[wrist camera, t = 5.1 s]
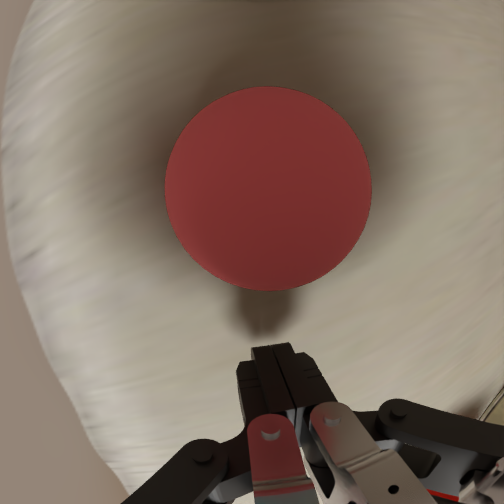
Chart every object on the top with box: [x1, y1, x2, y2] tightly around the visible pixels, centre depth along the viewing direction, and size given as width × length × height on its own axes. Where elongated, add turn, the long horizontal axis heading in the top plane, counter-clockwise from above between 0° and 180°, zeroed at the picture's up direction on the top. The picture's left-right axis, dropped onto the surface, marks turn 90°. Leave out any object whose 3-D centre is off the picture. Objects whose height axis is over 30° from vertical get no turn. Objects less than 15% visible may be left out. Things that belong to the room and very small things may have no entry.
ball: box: [165, 86, 372, 291], centre depth 8 cm, size 6×6×6 cm
